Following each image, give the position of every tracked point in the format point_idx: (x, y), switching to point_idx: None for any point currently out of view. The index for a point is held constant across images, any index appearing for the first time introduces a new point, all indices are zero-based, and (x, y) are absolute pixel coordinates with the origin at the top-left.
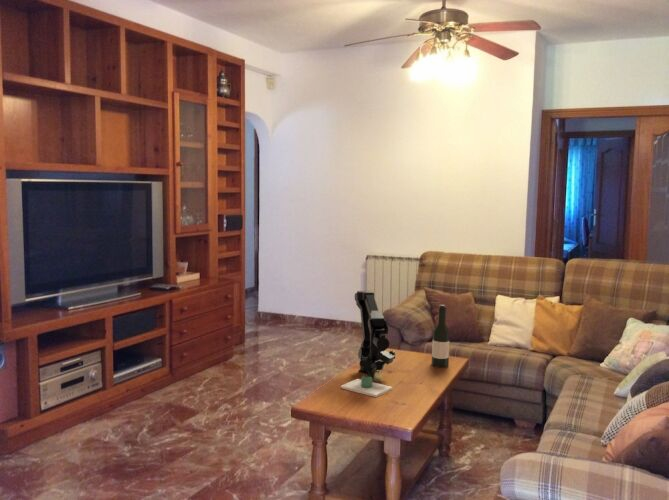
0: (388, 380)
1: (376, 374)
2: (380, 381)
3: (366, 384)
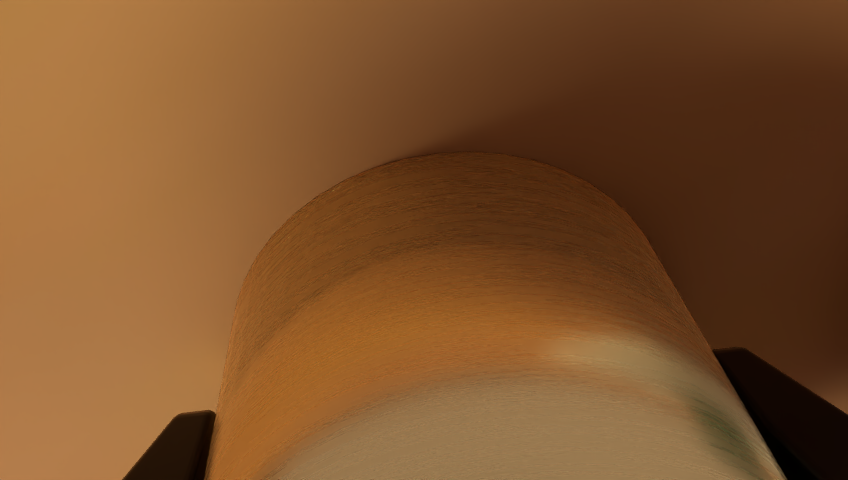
0: (18, 7)
1: (759, 443)
2: (430, 156)
3: None
